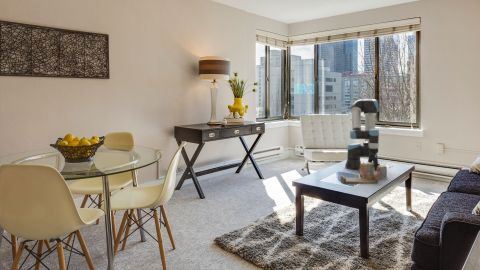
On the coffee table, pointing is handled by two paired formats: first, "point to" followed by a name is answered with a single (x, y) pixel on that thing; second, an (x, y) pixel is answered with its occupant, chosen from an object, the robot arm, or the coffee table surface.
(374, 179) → the base board
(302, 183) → the coffee table surface
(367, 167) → the stack of blocks
